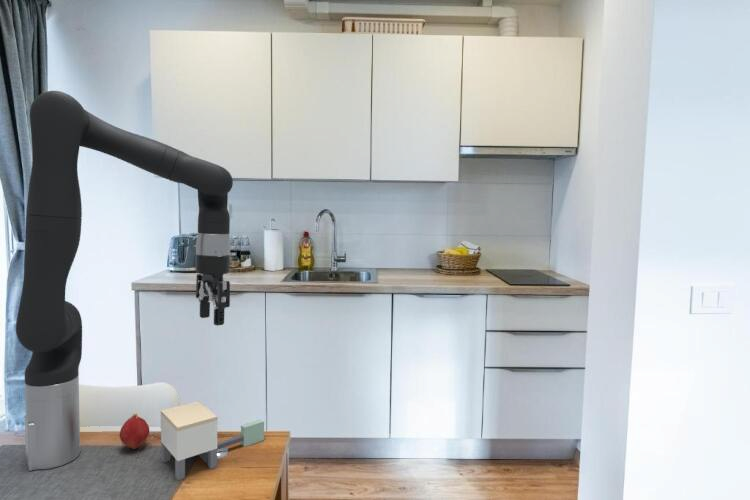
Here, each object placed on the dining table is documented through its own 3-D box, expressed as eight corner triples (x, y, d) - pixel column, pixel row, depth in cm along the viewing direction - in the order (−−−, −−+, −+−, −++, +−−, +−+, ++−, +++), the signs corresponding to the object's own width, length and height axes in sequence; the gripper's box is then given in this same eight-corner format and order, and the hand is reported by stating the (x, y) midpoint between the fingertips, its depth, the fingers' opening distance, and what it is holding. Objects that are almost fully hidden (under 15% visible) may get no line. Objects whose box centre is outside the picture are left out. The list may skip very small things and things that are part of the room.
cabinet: (177, 480, 91) (177, 427, 90) (161, 459, 99) (160, 410, 98) (217, 466, 96) (217, 416, 96) (198, 447, 104) (198, 401, 103)
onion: (114, 450, 102) (113, 415, 101) (138, 439, 107) (137, 406, 106) (131, 457, 99) (130, 421, 98) (154, 446, 104) (154, 411, 103)
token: (231, 455, 102) (231, 451, 102) (212, 463, 99) (212, 459, 98) (221, 446, 105) (221, 443, 105) (203, 454, 102) (203, 451, 101)
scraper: (206, 463, 98) (206, 443, 97) (197, 454, 101) (197, 434, 101) (267, 442, 107) (267, 424, 107) (257, 434, 111) (257, 416, 110)
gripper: (186, 250, 111) (184, 316, 112) (209, 256, 101) (207, 329, 102) (216, 249, 116) (215, 313, 117) (241, 255, 106) (239, 325, 107)
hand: (211, 321), depth 110 cm, fingers open, 8 cm apart
